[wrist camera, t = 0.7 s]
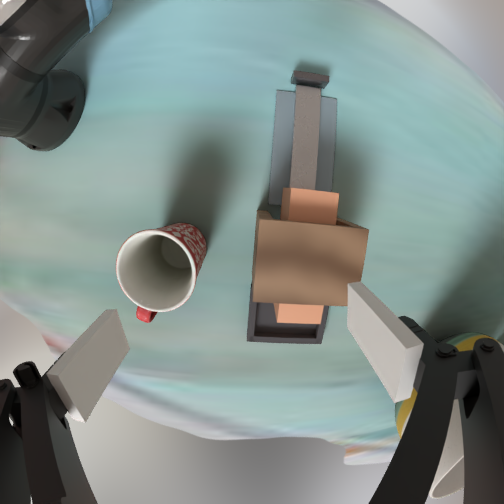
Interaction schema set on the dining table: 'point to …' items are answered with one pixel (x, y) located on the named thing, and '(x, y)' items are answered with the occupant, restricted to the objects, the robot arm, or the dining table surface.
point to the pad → (284, 145)
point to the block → (315, 211)
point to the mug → (160, 267)
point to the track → (306, 129)
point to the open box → (306, 261)
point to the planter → (453, 454)
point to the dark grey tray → (280, 326)
